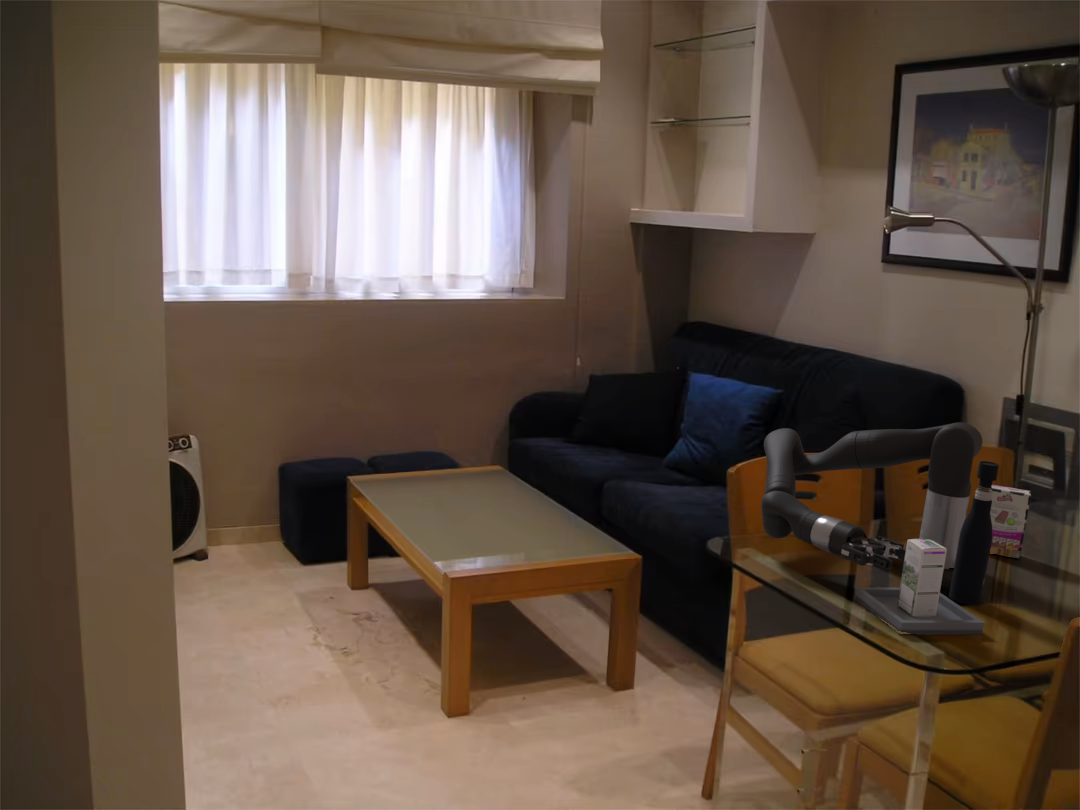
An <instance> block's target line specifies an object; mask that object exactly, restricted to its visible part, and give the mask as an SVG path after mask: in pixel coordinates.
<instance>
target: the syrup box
mask: <svg viewBox="0 0 1080 810" xmlns="http://www.w3.org/2000/svg"><path fill="white" fill-rule="evenodd" d="M905 548H906V549H905V550H906V553H905V559H904V561H903V565H902V573H901V578H900V585H899V588H900V591H899V597H898V604H897V606H898V607H900V608H901V609H903V610H904V611H905V612H907V613H908V614H910V615H911V616H913V617H933V616H936V613H937V606H938V600H939V594H940V593H941V586H942V581H943V574H944V570H945V569H944V564H945V558H946V552H947V549H946V548H945V547H943V546H941V545H939V544H938V543H936V542H934V541H932V540H930V539H919V538H912V539H911V538H910V539H907V542H906V547H905Z"/></svg>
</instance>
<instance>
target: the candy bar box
mask: <svg viewBox="0 0 1080 810" xmlns="http://www.w3.org/2000/svg"><path fill="white" fill-rule="evenodd" d="M990 491H992V495H991V497H992V498H991V500H992V505H991V511H990V516H991V522H992V543H991V547H992V548H997V549H998V548H999V549H1009V550H1017V551H1021V552H1022V549H1023V544H1024V538H1025V532H1026V526H1027V520H1028V516H1029V511H1030V509H1029V508H1030V504H1031V503H1030V502H1031V499H1032V498H1031V497H1032V494H1031V493H1032V492H1031V490H1026V489H1019V488H1015V487H1009V486H1003V485H997V484H992V489H991V490H990Z"/></svg>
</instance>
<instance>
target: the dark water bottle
mask: <svg viewBox="0 0 1080 810" xmlns="http://www.w3.org/2000/svg"><path fill="white" fill-rule="evenodd" d="M999 467H1000V465H999V464H998V463H996V462H992V461H988V460H987V461H985V460H980V461H979V463H978V468H977V474H976V477H977V478H978V479H979V482H978V485H977V486H978V487H977V488H976V490H975V491H974V492H975V494H974V497H973V498H972V503H971V509H970V510H969V512H968V514H967V515H966V519H965V521H964V523H963V526H962V528H961V531H960V536H959V542H958V548H957V553H956V559H955V564H954V569H953V571H952V577H951V582H950V589H949V594H948V598H949V599H950V600H952V601H953V602H957V603H960V604H964V605H969V606H970V605H971V606H975V605H976V606H977V605H980V604H981V602H982V595H983V592H984V591H983V590H984V585H985V580H986V575H987V570H988V564H989V558H990V555H991V554H990V549H991V543H992V522H991V516H990V511H991V505H992V500H991V498H992V497H991V495H992V491H990V490H991V489H992V485H993V482H996V481H997V478H998V474H999V469H1000V468H999Z"/></svg>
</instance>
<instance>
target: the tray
mask: <svg viewBox="0 0 1080 810" xmlns="http://www.w3.org/2000/svg"><path fill="white" fill-rule="evenodd" d="M899 591H900V587H882V586H881V587H876V586H873V587H872V586H869V587H866V586H865V587H864V586H863V587H861V586H857V587H855V590H854V596H853V599H854V600H855V601H856V602H858V603H859V604H860V605H861V606H863V607H864V608H865V609H866V610H867V611H869V612H870V611H871V612H872V613H871V612H870V613H871V614H873V613H874V614H875V615H877V616H879V617H880V618H881V619H883V620H884V621H886V622H887V623H889V624H890V625H892V626H893V627H895V628H896V629H897V630H898V631H901V632H907V633H911V634H916V635H915V636H920V635H921V636H930V635H931V636H933V635H934V636H935V635H937V636H938V635H939V636H945V635H946V636H947V635H948V636H950V635H951V636H956V635H958V636H959V635H960V636H961V635H963V636H965V635H967V636H969V635H971V636H973V635H978V636H979V635H983V631H984V625H985V622H984V621H982V620H981V619H979V618H978V617H977V616H975V615H974V614H972V613H971V612H970V611H968V610H967V609H966V608H963V607H962V606H961V605H959V604H957V603H956V601H954V600H952V599H951V598H950V597H947V596H946V595H944V594H943V593H942V592H940V594H939V600H938V606H937V613H936V616H933V617H913V616H911V615H910V614H908V613H907V612H905V611H904V610H903V609H901V608H900V607H898V606H897V604H898V597H899ZM874 614H873V615H874ZM875 615H874V616H875Z"/></svg>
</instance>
